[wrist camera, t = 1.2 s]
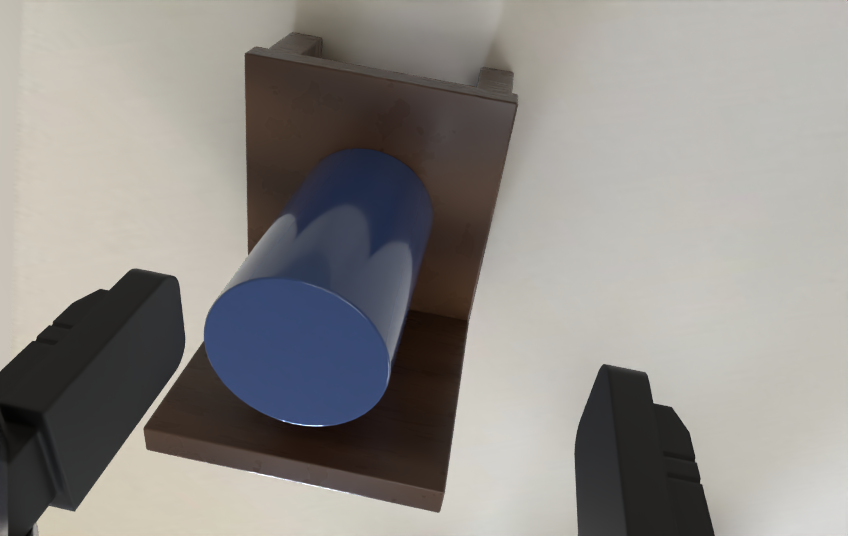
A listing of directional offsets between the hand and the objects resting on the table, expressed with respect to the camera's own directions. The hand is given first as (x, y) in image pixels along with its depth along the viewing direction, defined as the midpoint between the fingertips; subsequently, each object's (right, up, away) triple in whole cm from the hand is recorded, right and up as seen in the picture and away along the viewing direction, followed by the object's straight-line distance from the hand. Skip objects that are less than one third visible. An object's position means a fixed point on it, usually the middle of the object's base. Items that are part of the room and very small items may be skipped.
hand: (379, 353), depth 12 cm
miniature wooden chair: (-1, +7, +21) cm, 22 cm away
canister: (-2, +4, +16) cm, 17 cm away
